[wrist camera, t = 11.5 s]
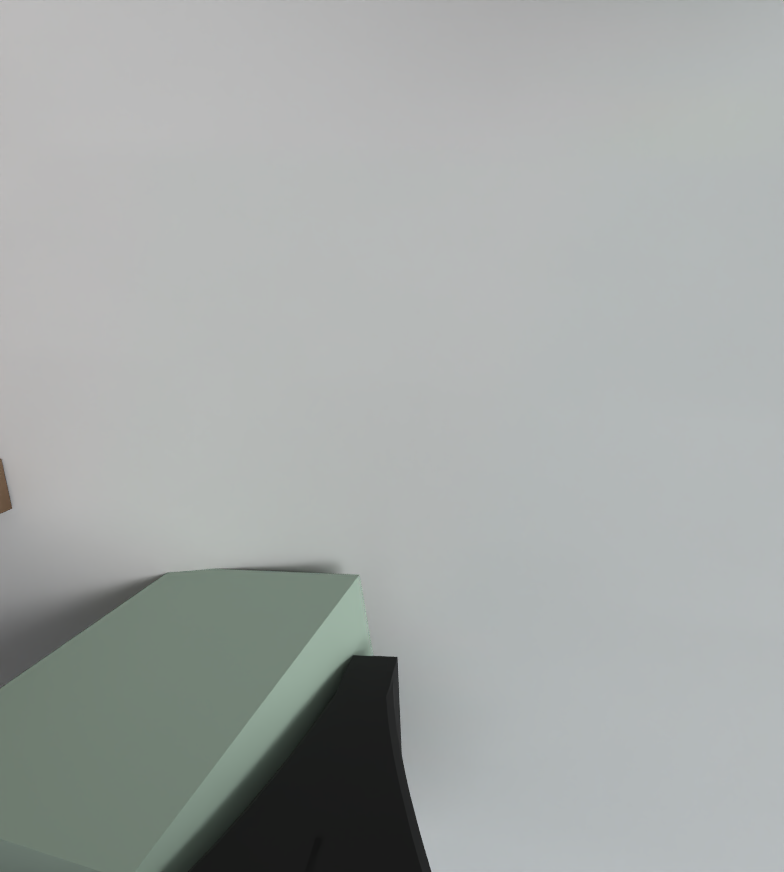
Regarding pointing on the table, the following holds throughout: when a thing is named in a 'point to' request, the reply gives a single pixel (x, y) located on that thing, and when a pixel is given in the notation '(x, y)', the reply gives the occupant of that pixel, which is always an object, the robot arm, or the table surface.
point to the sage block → (169, 717)
